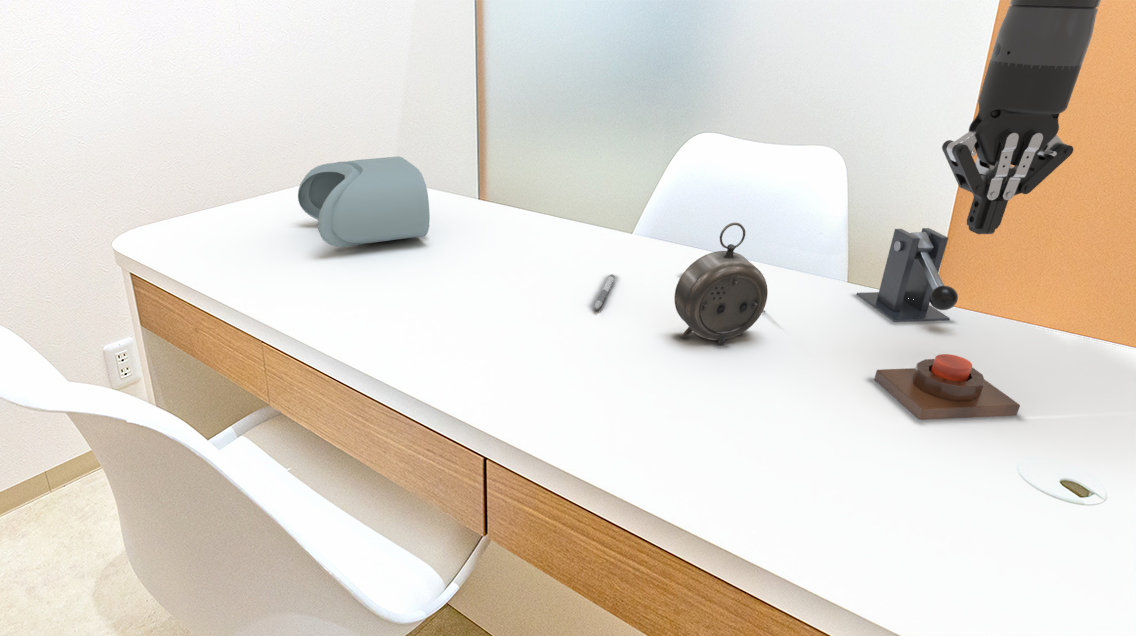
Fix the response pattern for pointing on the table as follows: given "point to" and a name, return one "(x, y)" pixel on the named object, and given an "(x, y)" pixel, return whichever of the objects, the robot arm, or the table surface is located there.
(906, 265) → the switch bracket
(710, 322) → the alarm clock
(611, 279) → the pen
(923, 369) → the switch block
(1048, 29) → the robot arm
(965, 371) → the button
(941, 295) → the lever
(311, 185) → the grey hollow curved shell
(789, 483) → the table surface
